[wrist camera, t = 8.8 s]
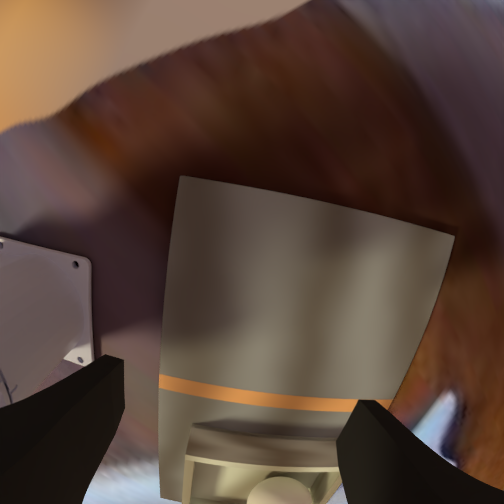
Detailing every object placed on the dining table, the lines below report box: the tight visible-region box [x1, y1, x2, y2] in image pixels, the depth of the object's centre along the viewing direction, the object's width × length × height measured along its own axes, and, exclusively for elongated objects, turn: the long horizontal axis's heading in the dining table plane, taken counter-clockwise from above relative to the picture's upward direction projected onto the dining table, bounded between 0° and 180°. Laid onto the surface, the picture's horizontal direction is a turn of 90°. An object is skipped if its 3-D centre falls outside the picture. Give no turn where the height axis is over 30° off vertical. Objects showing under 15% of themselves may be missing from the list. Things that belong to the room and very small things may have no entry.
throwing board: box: [158, 176, 455, 504], centre depth 18 cm, size 16×29×4 cm, turn 169°
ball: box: [247, 476, 312, 504], centre depth 18 cm, size 5×5×5 cm
